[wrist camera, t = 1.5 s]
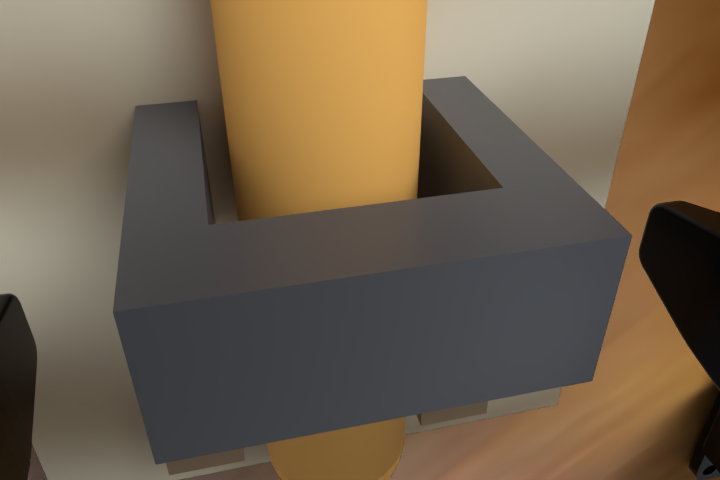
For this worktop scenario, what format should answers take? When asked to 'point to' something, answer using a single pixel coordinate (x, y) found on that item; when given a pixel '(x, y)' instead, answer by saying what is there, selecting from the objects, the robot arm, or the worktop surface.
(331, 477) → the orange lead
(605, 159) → the cradle board
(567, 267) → the dark gray horseshoe block
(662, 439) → the worktop surface
